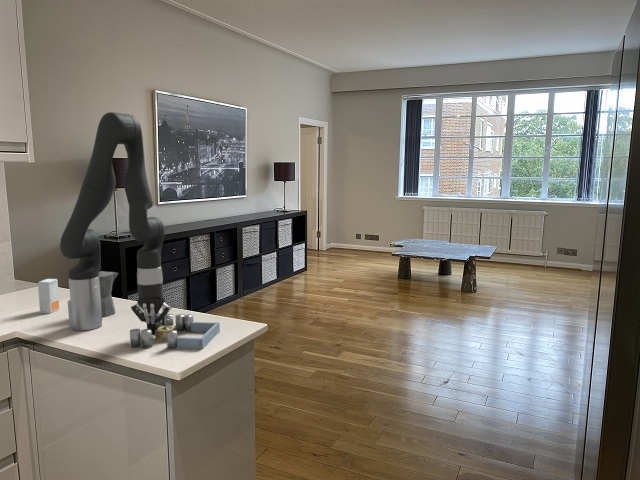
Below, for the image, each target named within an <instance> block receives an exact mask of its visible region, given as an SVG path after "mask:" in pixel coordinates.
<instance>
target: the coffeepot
mask: <svg viewBox="0 0 640 480" xmlns="http://www.w3.org/2000/svg"><path fill="white" fill-rule="evenodd" d="M102 267H103V266H100V270H99V282H100V297H101V312H102V318H104V317H105V318H106V317H111V316H113V315H115V314H116V308H115V304H114V300H113V296H112V291H113V284H114V281H115V279H116V278H117V277H118V275H119V273H118V272H115V271H104V270H103V271H102Z"/></svg>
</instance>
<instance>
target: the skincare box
mask: <svg viewBox="0 0 640 480" xmlns="http://www.w3.org/2000/svg"><path fill="white" fill-rule="evenodd" d="M58 282H59V281H58V278H45V279H43V280H41V281H38V282H37V287H38V289H37V290H38V302H39V313H40V314H51V313H54V312H55V311H58V310H60V299H59V297H60V295H59V283H58Z"/></svg>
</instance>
